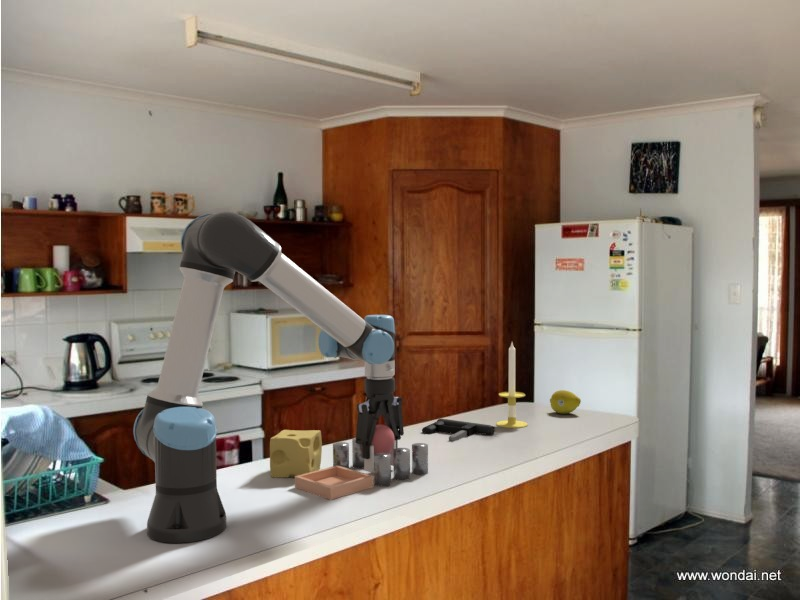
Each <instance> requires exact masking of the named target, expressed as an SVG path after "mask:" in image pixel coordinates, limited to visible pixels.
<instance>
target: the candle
mask: <svg viewBox="0 0 800 600" xmlns="http://www.w3.org/2000/svg"><path fill="white" fill-rule="evenodd" d="M498 396H499V397H501V398H506V399H507V419H506V420H505V419H504V420H499V421H497V422H496V423H495V425H496V426H498V427H500V428H505V429H522V428H526V427H528V423H527V422H525V421H522V420H517V402H516V401H517V398H518V399H519V398H524V397H526V394H525V393H524V392H521V391H516V348H515V347H514V343H513V342H511V343H510V346H509V348H508V391H502V392H499V393H498Z"/></svg>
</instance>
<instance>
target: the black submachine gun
mask: <svg viewBox="0 0 800 600" xmlns="http://www.w3.org/2000/svg"><path fill="white" fill-rule="evenodd" d="M421 431H422V433H423V434H427V435H428V434H429V435H431V434H434V433H435V432H438V433H446V434H451V435H450V436H448V441H449V442H456V441H458V440H461V439H463V438H466V437H470V436H473V435H476V434H481V435H487V436H488V435H489V436H490V435H492V436H493V435H494V434H495V432H496V429H495V426H493V425H491V424H485V423H484V424H483V423H479V422H478V423H476V422H471V421H470V422H468V421H463V420H454V419H448V418H447V419H446V418H438V419H437V420H436V421H435V422H433V423H431V424H428V425H426V426H424V427H422V428H421Z"/></svg>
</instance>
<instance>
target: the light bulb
mask: <svg viewBox="0 0 800 600" xmlns="http://www.w3.org/2000/svg"><path fill="white" fill-rule="evenodd" d="M394 439H395V438H394V434H393V431H392V430H391V429H390V428H389V427H388V426H386V425H385V424H380V423H379V424H376V427H375V431H374V435H373V439H372V443H371V445H372V446H374V454H376V453H390V451H391V449H392V447H393V444H394ZM366 441H367V440H366Z"/></svg>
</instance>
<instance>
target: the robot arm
mask: <svg viewBox="0 0 800 600" xmlns="http://www.w3.org/2000/svg"><path fill="white" fill-rule="evenodd" d="M180 249H181V252H182V256H181V260H180V265H179V271H180V272H181V274H182V275H183V276H182V277H183V281H182V282H183V283H182V286H181V290H180V293H179V299H178V302H177V306H176V310H175V314H174V318H173V322H172V326H171V330H170V333H169V338H168V343H167V346H166V349H165V354H164V358H163V361H162V362H163V363H162V366H161V370H160V374H159V377H158V382H157V386H156V387H155V388H153V389H152V390H150V391H149V392H147V396H146V399H145V403H144V407H143V408H142V410H140V412H139V413H138V415H137V416H136V418H135V421H134V423H133V438H134V441H135V442H136V443H135V444H136V445H137V447H138V450H140V451H141V453H142V454H143V455H145V456H146V458H149V459H151V460H152V462H154V470H155V472H154V474H155V475H154V477H155V478H154V480H155V495H154V498H153V502H152V504H151V507H150V508H151V509H150V511H149V514H148V517H147V518H148V519H147V522H146V533H147V536H148V538H150V539H151V540H154V541H156V542H160V543H169V544H182V543H193V542H197V541H198V542H199V541H202V540H207V539H210V538H212V537H216V536H217V535H219V534H221V533H222V532H223V531H225V529H226V528H227V514H226V513H227V512H226V510H225V507H224V505H223V502H222V500H221V496H220V493H219V491H218V485H217V483H218V482H217V476H218V475H217V433H218V431H217V427H216V419H215V417H214V414H213V413H212V412H210V411H209V410H208V409H205V408H203V405H204V403H203V402H202V400H201V399H200V397H199V391H200V387H201V383H202V379H203V375H204V371H205V366H206V362H207V358H208V355H209V354H208V353H209V351H210V346H211V342H212V338H213V334H214V330H215V325H216V322H217V318H218V313H219V310H220V305H221V302H222V297H223V293H224V289H225V288H226V287H227V286H229V284H231V283H233V282H234V279H235V274H236V272H237V273H239V274H240V275H242V276H244V277H245V278H246V279H247V280H249V281H250V282H251V283H252V282H260V283H261V285H264V286H265V288H267V289H268V290H270V291H271V292H272V293H273V294H275V295H277V297H279V298H281V300H283V301H284V302H285V303H287V304H288V305H289V306H291V307H292V308H293V309H294V310H296V311H297V312H299V313H300V314H301V315H302V316H304V317H305V318H306V319H308V320H309V321H310V322H311V323H313V324H314V325H315V326H317V327H318V328H319V329H320V331H319V333H318V334H319V335H318V340H317V341H318V348H319V352H320V354H321V355H322V356H323V357H325V358H334V359H336V358H346V359H351V360H356V361H360V362H364V376H365V379H364V392H365V393H366V399H365V402H362V403H359V402H358V403H357V404H356V410H357V411H356V412H357V419H356V431H355V433H356V435H355V438H356V443H357V444H361V445H362V451H363V458H364V468H363V470H364V471H365V472H368V473H374V446H372V445H371V443H372V439H373V435H374V431H375V427H376V425H377V423H378V420H379V419H380V416H382V418H383V422H384V425H386V426H388V427H389V428H390V429H391V430H392V431H393V434H394V438H395V439H394V444H393V447H392V449H391V451H390V453H389V454H391V466H393V467H394V464H393V450H394V449H395V448H399V447H398V446H399V445H398V441H400V440H401V438H402V437H401V436H404V433H405V432H404V431H405V430H404V420H403V412H402V410H403V409H402V406H403V405H402V404H403V398H402V397H399V396H395V395H394V393H395V392H396V380H395V377H394V376H395V375H396V374H395V373H396V369H395V367H396V364H395V363H396V362H395V359H396V358H395V356H396V354H395V353H396V350H395V349H396V348H395V347H396V345H395V344H396V343H395V342H396V339H395V338H396V330H395V329H396V328H395V326H396V325H395V319H394V317H393V316H391V315H389V314H368V315H365V316H364V319H363V318H362V317H361V316H360V315H358V314H357V313H356V312H355V311H354V310H353V309H351V308H350V307H349V306H348V305H346V304H345V303H344V302H343V301H341V299H339V298H338V297H337V296H335V294H333V293H331V292H330V291H329V290H328V289H326V288H325V287H324V286H323V285H322V284H321V283H319V281H317V280H316V279H314V278H313V276H311V275H310V274H308V273H307V272H306V271H305V270H303V269H302V268H301V267H299V265H297V264H296V263H295V262H294V261H292V260H291V259H290V258H289V257H287V256H286V255H285V254H284V253H282V247H281V245H280V243H278V242H277V241H275V240H274V239H273V237H271V236H270V235H269V234H267V233H266V232H265V231H264V230H262V228H260V227H259V226H257V225H256V224H255V223H254V222H252V220H250V219H248V218H247V217H245V216H244V215H242V214H238V213H237V212H232V211H221V212H217V213H206V214H201V215H199V216H198V217H196V218H194V219H193V220H191V221H190V222H189V223H188V224H187V225H186V226H185V228H184V229H183V231H182V234H181V236H180ZM366 440H367V441H366Z"/></svg>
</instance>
